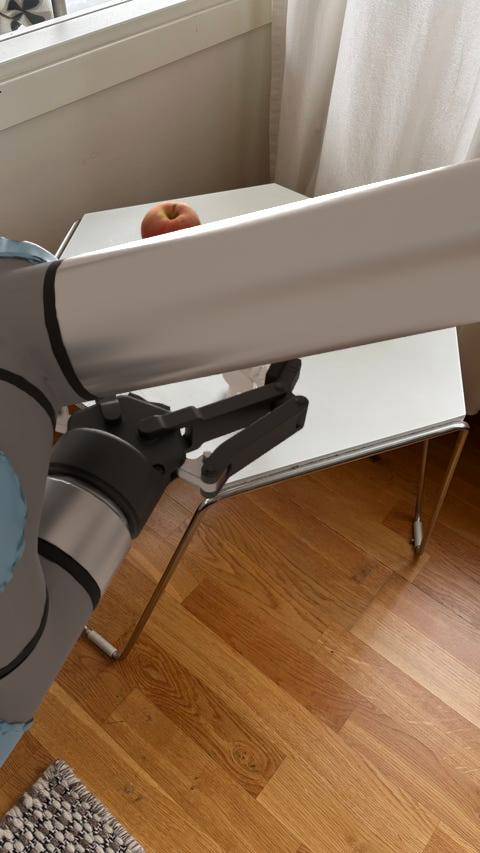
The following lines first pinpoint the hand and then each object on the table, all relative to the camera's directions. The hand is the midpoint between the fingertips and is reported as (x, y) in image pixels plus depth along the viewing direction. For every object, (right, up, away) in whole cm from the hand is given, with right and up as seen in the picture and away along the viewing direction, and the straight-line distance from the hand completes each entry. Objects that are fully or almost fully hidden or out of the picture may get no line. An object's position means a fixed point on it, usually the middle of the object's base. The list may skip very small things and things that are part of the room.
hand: (218, 306), depth 57 cm
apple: (-7, +14, +40) cm, 43 cm away
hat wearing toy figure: (+2, -8, +23) cm, 24 cm away
